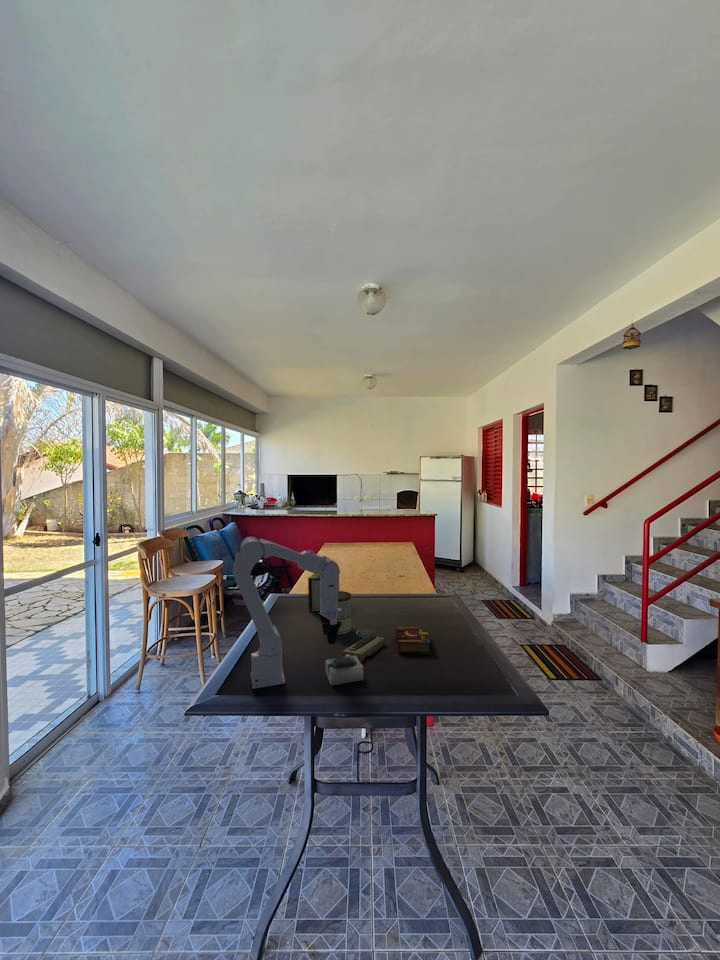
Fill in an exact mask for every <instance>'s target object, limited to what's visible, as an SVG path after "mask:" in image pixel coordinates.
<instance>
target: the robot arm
mask: <svg viewBox="0 0 720 960" xmlns="http://www.w3.org/2000/svg"><path fill="white" fill-rule="evenodd" d="M262 557H263V559H267V558H270V557H277V558H280V559H283V560H287V561H289V562H292V563H296V564H297V567H298V568H299V569H300V570H303V571H306V572H309V573H313V574H314V573H315V574H321V575H320V612H317V614H318V616H319V618H320V623H321V627H322V631H323V635H324V636H325V635H326V640H327V643H328V645H335V644H336V642H337V637H338V634H337V633H338V630H339V628H340V626H341V621H337V616H338V613H339V612H342V610H341V608H338V582H337V577H338V576H339V577H340V574H341V569H340V567H339V564H338V563H337V562H336V561H335V560H333V559H331V558H330V557H328V556H327V555H326V556H325V555H323V556H321V555H319V554H316V553H314V551H313V550H312V549H311V550H310V549H308V550H303V551H301V552H298V551H295V550H293V549H290V548H289V547H286V546H283V545H280V544H278V543H275V542H273V541H270V540H266V539H263V538H259V539H258V538H256V537H255V536H247V537H245V538H243V540H242V541H241V542H240V544H239V546H237V549H236V554H235V557H234V563H233V568H232V576H233V579H234V581H235V583H236V585H237V588H238V589H239V593H240V594H241V596H242V598H243V601H244V603H245V605H246V608H247V609H248V612H249V615H250V617H251V620H252V621H253V624H254V626H255V628H256V631H257V634H258V636H257V637H258V640H259V644H260V645H259V647H258V649H257V650H256V651H254V652H252V653H251V655H250V656H251V658H250V659H251V672H250V679H251V687H252V689H254V690H255V689H261V688H267V687H273V686H279V685H284V684H286V681H285V680H286V679H285V675H284V671H283V640H282V638H281V635H280V633H279V629H278V627H277V626H276V625H275V624H273V623H272V621H271V618H270V616H269V614H268V612H267V609H266V608H265V607H266V606H265V605H264V602H263V600H262V599H261V595H260V594H259V592H258V591H259V590H258V588H257V587H256V584H255V582H254V579H253V577H252V574H251V572H252V570H253V569H254V566H255V565H256V564H257V563H258V562H259V561H260V560H261V558H262Z"/></svg>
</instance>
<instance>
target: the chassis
mask: <svg viewBox="0 0 720 960" xmlns="http://www.w3.org/2000/svg"><path fill="white" fill-rule="evenodd" d="M351 657H354V659H355V660H356V662H357V664H353V666H347V667H341V668H335V667H333V665H332V663H331V661H332V660H335V658H330V659H325V674H326V677H327V679H328V681H329V683H330V686H336V685H337V686H338V685H341V684H349V683H353V682H359V681H364V666H363V664H362V663H361V662H360V661H359V659H358V658H357V656H356V655H355V656H351Z"/></svg>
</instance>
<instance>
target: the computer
mask: <svg viewBox="0 0 720 960" xmlns="http://www.w3.org/2000/svg"><path fill="white" fill-rule="evenodd" d="M368 636H369V637H367V636H366V637H367V638H365V637H364V638H362V639H360V640H359V641H357V642H355V643H354V644H352V645H351V646H348V647H347V648H345V649H344V650H343V651H342V652H341V653H342V654H341V655H342V656H345V655H347V654H348V655H350V656H355V655H356V656H357V658H358V659H359V661H360V663H361V662H363V661H365V660H364V659H365V658H366V657H367V656H368V657H367V658H369V657H370V656H372V655H373V654H375V653H376V652H377V651H378V650H380V649H381V648H383V647H384V646H386V641H385V640H386V639H385V637H382V636H381V637H380V636H377V635H376V636H375V635H368Z"/></svg>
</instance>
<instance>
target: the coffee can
mask: <svg viewBox="0 0 720 960" xmlns="http://www.w3.org/2000/svg"><path fill="white" fill-rule="evenodd" d="M351 598H352V593H351V592H348V591H343V590H339V591H338V608H341V610H342V612H339V613H338V616H337V621H341V626H340V628H339V630H338V633H337V635H344V634H348V633H349V632H351V631H352V599H351Z"/></svg>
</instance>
